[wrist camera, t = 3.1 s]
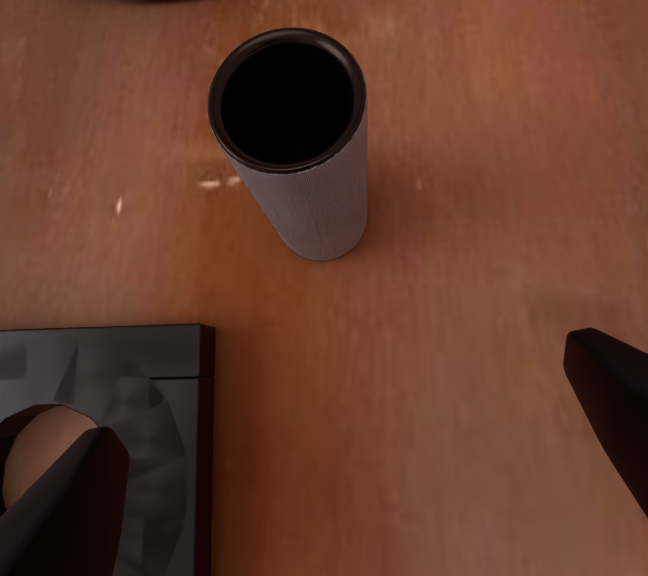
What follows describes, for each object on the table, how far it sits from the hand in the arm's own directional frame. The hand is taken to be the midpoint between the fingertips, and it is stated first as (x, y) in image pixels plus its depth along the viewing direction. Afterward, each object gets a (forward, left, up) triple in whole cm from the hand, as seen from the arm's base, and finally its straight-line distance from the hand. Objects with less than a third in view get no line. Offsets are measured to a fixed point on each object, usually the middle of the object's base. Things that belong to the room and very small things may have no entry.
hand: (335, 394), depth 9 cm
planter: (+5, -6, -13) cm, 15 cm away
